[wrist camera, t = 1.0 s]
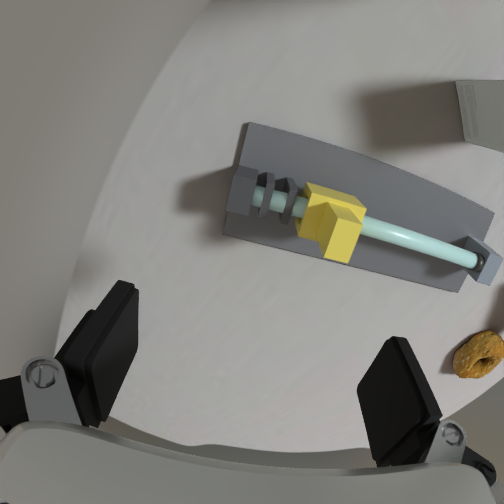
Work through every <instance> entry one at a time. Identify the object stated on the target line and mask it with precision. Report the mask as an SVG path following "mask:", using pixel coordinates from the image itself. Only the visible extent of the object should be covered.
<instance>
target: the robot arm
mask: <svg viewBox="0 0 504 504" xmlns="http://www.w3.org/2000/svg"><path fill="white" fill-rule="evenodd" d="M138 304H139V290H138V289H136V288H135V286H134V284H133V283H129V282H125V281H122V280H118V281H117V282H116V283H115V285H114V286H113V287H112V289H111V290H110V291H109V293H108V294H107V295H106V297H105V298H104V299H103V301H102V302H101V303H100V305H99V306H98V307H97V309H96V310H92V309H91V310H89V311H88V312H87V313H86V314H85V316H84V317H83V318H82V320H81V321H80V322H79V324H78V325H77V326H76V328H75V329H74V331H73V332H72V333H71V335H70V336H69V338H68V339H67V340H66V342H65V343H64V345H63V346H62V347H61V349H60V350H59V352H58V353H57V355H56V356H55V358H52V357H49V356H36V357H33V358H31V359H29V360H28V361H27V362H26V363H25V364H24V365H23V367H22V369H21V375H20V376H15V377H11V378H7V379H2V380H0V504H504V485H503V484H502V483H501V482H500V481H499V480H497V481H496V471H495V468H494V466H493V465H492V463H490V462H489V461H488V460H486V459H485V458H483V457H482V456H480V455H479V454H477V453H476V452H474V451H473V450H471V449H470V448H468V447H467V446H466V440H467V437H466V433H465V431H464V429H463V428H462V427H461V426H460V425H459V424H458V423H456V422H455V421H452V420H444V421H443V422H441V423H440V421H439V419H440V418H441V417H442V416H443V415H442V413H441V410H440V408H439V406H438V404H437V401H436V399H435V397H434V394H433V392H432V390H431V388H430V386H429V384H428V381H427V379H426V377H425V375H424V373H423V371H422V369H421V367H420V365H419V362H418V360H417V358H416V356H415V354H414V352H413V350H412V348H411V346H410V344H409V342H408V340H407V339H406V338H403V337H396V336H392V337H391V338H390V339H388V340H386V341H385V343H384V345H383V346H382V348H381V350H380V351H379V353H378V355H377V356H376V358H375V359H374V361H373V363H372V364H371V366H370V367H369V369H368V370H367V372H366V374H365V375H364V377H363V378H362V380H361V381H360V383H359V384H358V387H357V395H358V399H359V403H360V407H361V411H362V415H363V419H364V423H365V427H366V431H367V436H368V440H369V445H370V449H371V453H372V457H373V460H375V461H376V464H377V468H363V469H362V468H361V469H299V468H282V467H270V466H260V465H251V464H242V463H235V462H228V461H221V460H216V459H210V458H205V457H199V456H194V455H189V454H185V453H180V452H176V451H172V450H167V449H163V448H159V447H155V446H151V445H148V444H144V443H140V442H136V441H133V440H130V439H126V438H123V437H120V436H117V435H113V434H109V433H106V432H103V431H99V430H96V429H93V428H89V425H91V426H94V427H96V428H98V427H99V424H100V422H101V421H103V422H105V421H106V420H107V418H108V415H109V413H110V411H111V408H112V406H113V404H114V401H115V399H116V397H117V394H118V392H119V390H120V388H121V385H122V383H123V381H124V379H125V376H126V374H127V372H128V370H129V367H130V365H131V363H132V361H133V359H134V357H135V354H136V352H137V348H138ZM390 465H391V466H390Z"/></svg>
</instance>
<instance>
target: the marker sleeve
mask: <svg viewBox="0 0 504 504" xmlns="http://www.w3.org/2000/svg"><path fill="white" fill-rule="evenodd" d="M302 197H303V198H307V199H308V201H307V204H306V208H305V211H304V214H303V217H302V218H300V217H296V216H295V220H294V222H295V226H296V230H297V234H298V237H302V238H306V239H310V240H314V241H318V243H319V246H320V249H321V251H322V254H323V257H324V258H328V259H332V260H336V261H340V262H344V263H348V262H349V260H350V257H351V255H352V252H353V250H354V247H355V245H356V242H357V240H358V237H359V235H360V232H361V229H362V227H363V224H362V221H363V218H364V215H365V213H366V210H367V208H366V207H365V206H364V205H363V204H362V203H361V202H360V201H359V200H358V199H357V198H356V197H355V196H352V195H349V194H346V193H343V192H339V191H336V190H333V189H329V188H326V187H322V186H319V185H316V184H312V183H309V182H306V184H305V187H304V190H303V194H302Z"/></svg>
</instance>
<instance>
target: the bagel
mask: <svg viewBox="0 0 504 504" xmlns="http://www.w3.org/2000/svg"><path fill="white" fill-rule="evenodd" d="M503 358H504V341H503V340H502V338H501V336H499V335H498V334H497V333H495V332H494V331H483V332H481V333H478V334H476V335H475V336H473V337H472V338H471V339H470V340H469V341H468V342H467V343H466V344H464V345H463V346H462V347H461V348H460V349H458V350H457V351H456V352H455V355H454V359H453V365H452V366H453V369H454V371H455V373H456V375H457V376H459V377H460V378H481V377H483V376H484V375H486V374H488V373H489V372H491V370H493V369H494V368H495V367H496V366H497V365H498V364H499V363H500V362H501V361H502V359H503Z"/></svg>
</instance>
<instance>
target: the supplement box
mask: <svg viewBox="0 0 504 504" xmlns="http://www.w3.org/2000/svg"><path fill="white" fill-rule="evenodd" d="M455 83H456V89H457V94H458V99H459V105H460V111H461V118H462V125H463V133H464V139H465V141H466V142H468V143H472V144H475V145H479V146H483V147H486V148H490V149H493V150H497V151H500V152H503V153H504V80H465V81H456V82H455Z"/></svg>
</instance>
